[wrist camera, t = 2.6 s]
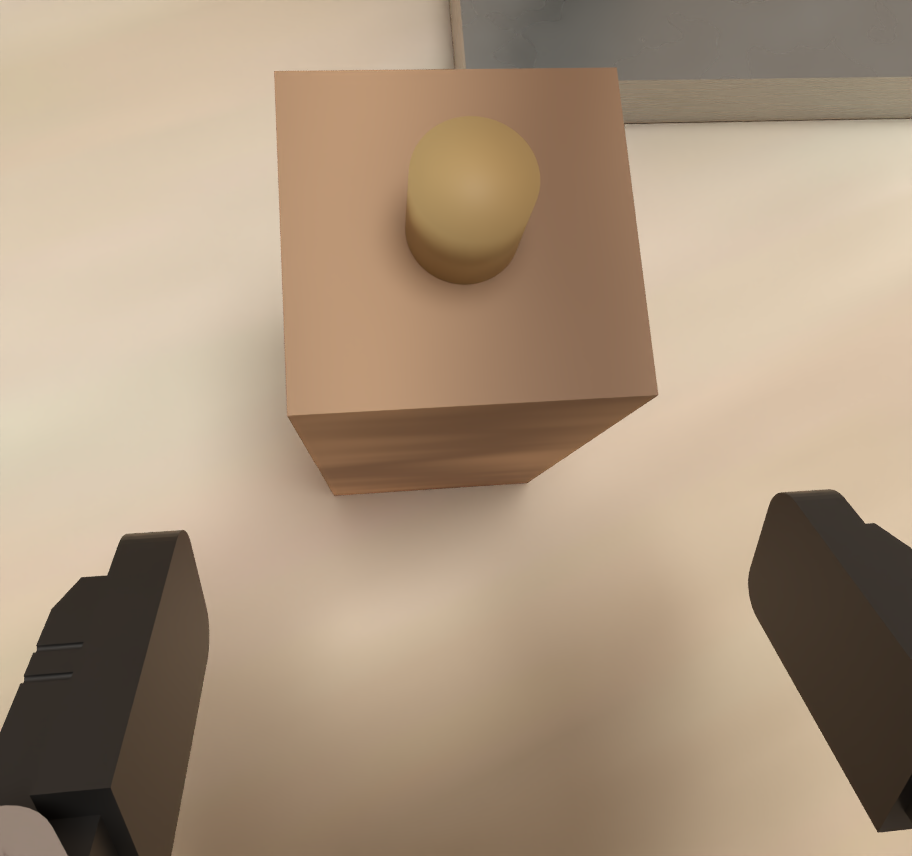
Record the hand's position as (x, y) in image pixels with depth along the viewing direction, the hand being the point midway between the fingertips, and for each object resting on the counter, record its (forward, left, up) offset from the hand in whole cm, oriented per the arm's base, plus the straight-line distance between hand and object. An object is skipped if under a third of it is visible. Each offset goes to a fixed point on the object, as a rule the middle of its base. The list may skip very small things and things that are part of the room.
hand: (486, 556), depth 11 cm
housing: (-1, +4, -9) cm, 10 cm away
